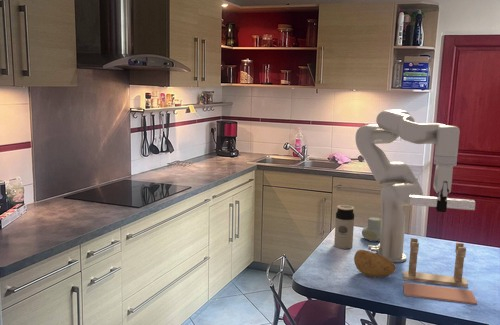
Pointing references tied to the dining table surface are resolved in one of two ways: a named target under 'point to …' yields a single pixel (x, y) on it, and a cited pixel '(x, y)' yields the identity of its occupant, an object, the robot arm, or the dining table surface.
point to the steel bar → (450, 202)
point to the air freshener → (372, 229)
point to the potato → (373, 264)
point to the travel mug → (344, 227)
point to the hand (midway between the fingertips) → (440, 209)
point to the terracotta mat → (439, 293)
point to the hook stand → (433, 278)
